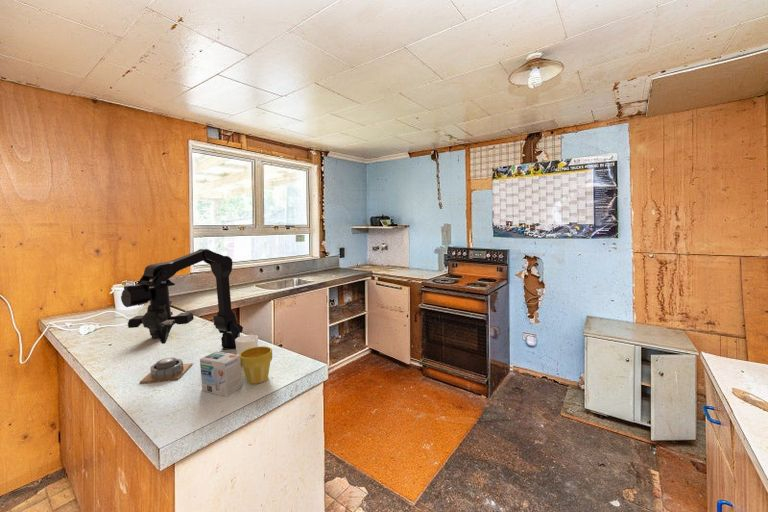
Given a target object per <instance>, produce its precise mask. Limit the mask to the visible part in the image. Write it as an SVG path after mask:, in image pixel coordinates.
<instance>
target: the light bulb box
mask: <svg viewBox="0 0 768 512" xmlns="http://www.w3.org/2000/svg"><path fill="white" fill-rule="evenodd" d="M199 365H200V366H199V367H200V376H201V377H200V378H201V381H200V382H201V390H202V391H203V392H207V393H211V394H216V395H220V396H222V397H227V396H229V395H231V394H232V392H233V393H234V392H236V391H237V390H239V389H240V388H242V387H243V377H242V367H241V361H240V355H237V353H236V354H234V353H228V352H222V351H217V350H216V351H214V352H211V353H210V354H208V355H205V356H203V357H200V359H199Z"/></svg>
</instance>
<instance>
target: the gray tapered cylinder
mask: <svg viewBox="0 0 768 512" xmlns="http://www.w3.org/2000/svg"><path fill="white" fill-rule="evenodd" d="M176 359H177V358H176V357H168V358H167V357H166V358H163V359H159V360H158V361H156V362H155V364H156V368H157V369H166V368H170V367H173V366H175V365H177V363H176Z"/></svg>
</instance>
